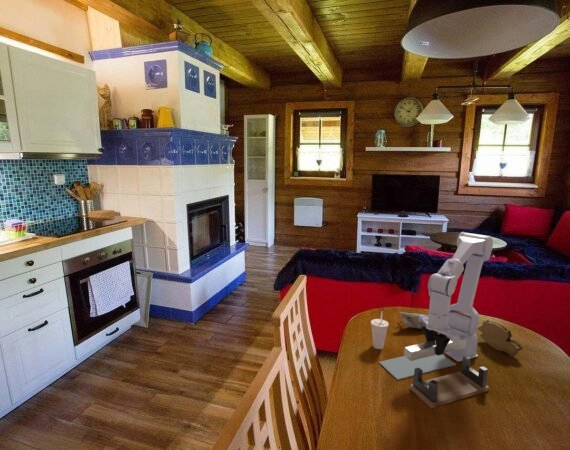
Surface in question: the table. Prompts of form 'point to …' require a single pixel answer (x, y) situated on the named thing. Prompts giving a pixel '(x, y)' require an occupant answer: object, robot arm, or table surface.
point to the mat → (415, 365)
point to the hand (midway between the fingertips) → (435, 351)
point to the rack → (450, 385)
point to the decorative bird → (411, 320)
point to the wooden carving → (499, 337)
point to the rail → (431, 349)
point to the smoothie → (379, 332)
